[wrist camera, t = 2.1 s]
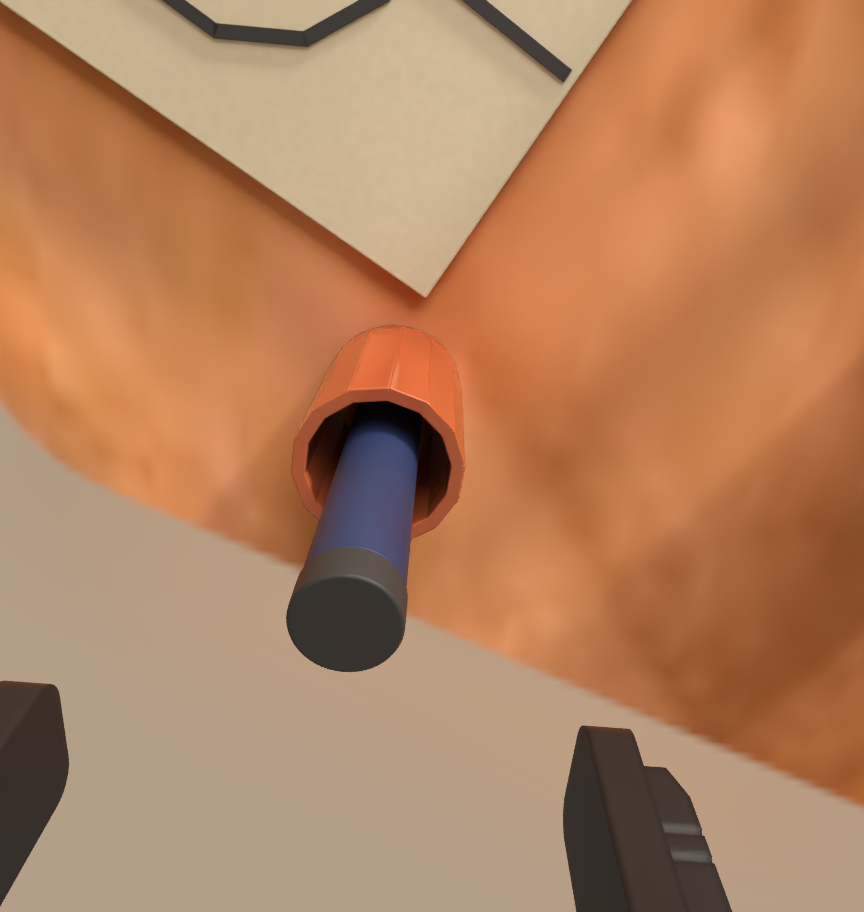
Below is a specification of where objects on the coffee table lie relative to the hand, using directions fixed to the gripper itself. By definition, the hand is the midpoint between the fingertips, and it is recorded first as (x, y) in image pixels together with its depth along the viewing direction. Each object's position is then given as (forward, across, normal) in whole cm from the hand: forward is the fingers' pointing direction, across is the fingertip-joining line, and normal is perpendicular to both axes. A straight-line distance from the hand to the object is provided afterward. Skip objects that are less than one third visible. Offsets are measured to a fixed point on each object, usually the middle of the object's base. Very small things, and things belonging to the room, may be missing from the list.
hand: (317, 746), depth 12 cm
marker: (+17, 0, 0) cm, 17 cm away
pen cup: (+17, 0, 0) cm, 17 cm away
